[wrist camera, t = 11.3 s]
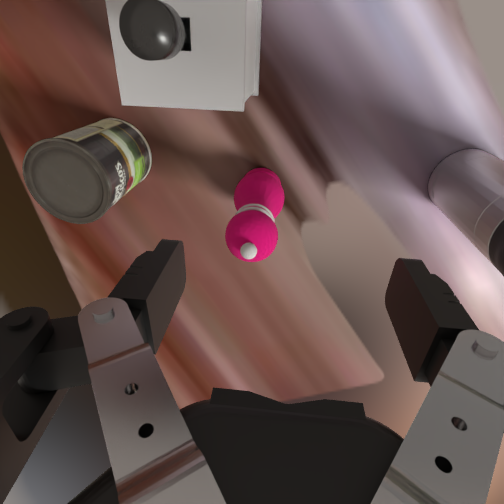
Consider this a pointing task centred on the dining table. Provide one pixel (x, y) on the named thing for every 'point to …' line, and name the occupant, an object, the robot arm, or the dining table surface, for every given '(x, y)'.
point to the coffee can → (86, 169)
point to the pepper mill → (255, 215)
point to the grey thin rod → (154, 30)
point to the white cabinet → (196, 58)
